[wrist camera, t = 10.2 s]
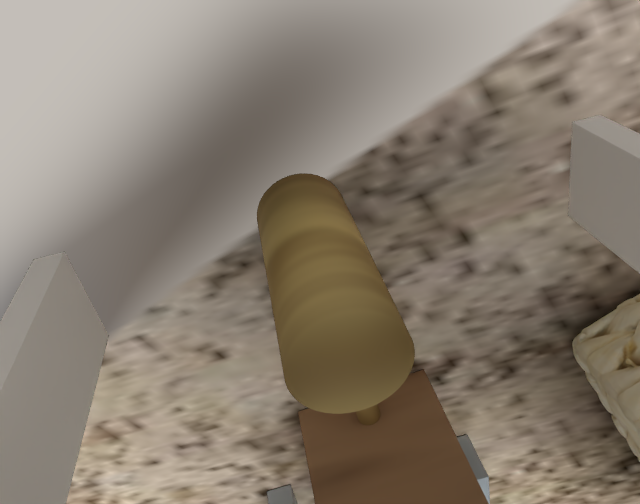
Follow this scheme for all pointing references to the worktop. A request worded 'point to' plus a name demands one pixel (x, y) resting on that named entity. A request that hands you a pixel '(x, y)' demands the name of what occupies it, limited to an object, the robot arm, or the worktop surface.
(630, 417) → the storage basket
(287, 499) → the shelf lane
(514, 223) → the worktop surface
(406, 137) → the worktop surface
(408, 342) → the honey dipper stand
